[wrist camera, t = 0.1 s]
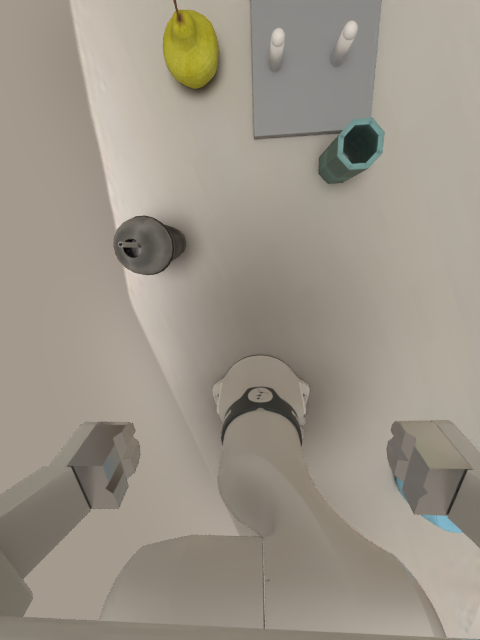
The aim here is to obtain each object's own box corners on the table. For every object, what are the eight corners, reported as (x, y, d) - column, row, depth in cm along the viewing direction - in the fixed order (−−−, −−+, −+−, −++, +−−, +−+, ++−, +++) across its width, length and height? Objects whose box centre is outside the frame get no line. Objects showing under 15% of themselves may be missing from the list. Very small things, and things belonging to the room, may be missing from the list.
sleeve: (351, 182, 41) (380, 167, 31) (318, 184, 41) (336, 170, 31) (354, 143, 39) (386, 116, 30) (319, 146, 39) (339, 119, 30)
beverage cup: (142, 235, 45) (58, 239, 26) (177, 209, 43) (114, 194, 24) (168, 272, 47) (107, 301, 28) (202, 249, 45) (163, 263, 26)
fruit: (221, 98, 38) (206, 43, 27) (174, 98, 39) (139, 43, 27) (221, 36, 36) (205, -53, 25) (171, 36, 36) (132, -51, 25)
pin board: (366, 131, 38) (390, 109, 32) (254, 139, 40) (253, 120, 33) (379, -20, 33) (411, -84, 27) (250, -6, 35) (249, -64, 28)
